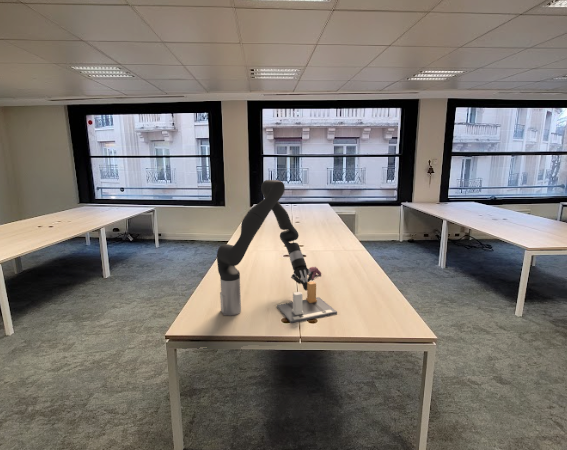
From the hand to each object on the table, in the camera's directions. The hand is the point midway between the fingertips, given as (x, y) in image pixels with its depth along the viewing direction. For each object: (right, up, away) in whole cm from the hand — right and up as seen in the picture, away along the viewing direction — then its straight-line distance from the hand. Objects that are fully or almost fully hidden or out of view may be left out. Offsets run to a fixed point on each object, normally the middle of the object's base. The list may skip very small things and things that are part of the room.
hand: (307, 289), depth 171 cm
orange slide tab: (+2, -5, -4) cm, 6 cm away
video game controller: (+7, +1, +34) cm, 35 cm away
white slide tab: (-6, -8, -16) cm, 19 cm away
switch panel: (-1, -8, -11) cm, 13 cm away
